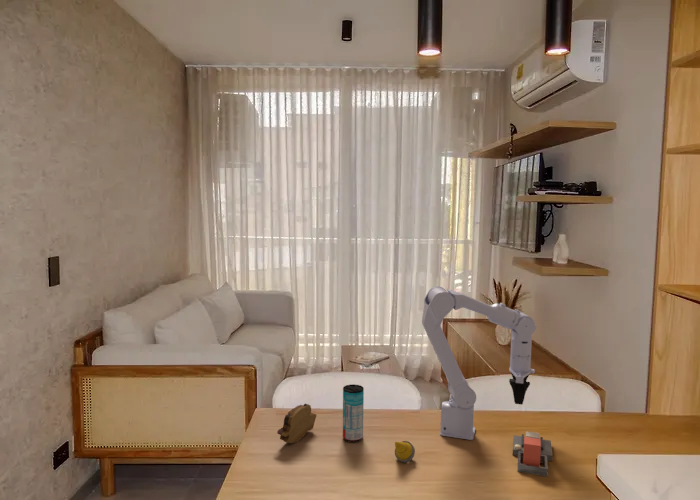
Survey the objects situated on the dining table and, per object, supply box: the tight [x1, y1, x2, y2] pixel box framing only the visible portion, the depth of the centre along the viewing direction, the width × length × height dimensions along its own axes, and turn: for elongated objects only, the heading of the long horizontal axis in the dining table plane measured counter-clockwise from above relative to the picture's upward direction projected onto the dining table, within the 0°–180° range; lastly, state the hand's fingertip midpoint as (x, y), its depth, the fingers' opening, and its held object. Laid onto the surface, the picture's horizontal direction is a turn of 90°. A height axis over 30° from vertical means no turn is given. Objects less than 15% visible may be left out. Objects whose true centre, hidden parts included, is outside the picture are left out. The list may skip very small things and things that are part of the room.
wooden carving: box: [277, 403, 317, 444], centre depth 148 cm, size 16×5×10 cm, turn 155°
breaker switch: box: [525, 430, 541, 439], centre depth 142 cm, size 4×3×3 cm
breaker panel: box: [512, 433, 553, 462], centre depth 143 cm, size 10×9×2 cm
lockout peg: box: [522, 436, 541, 467], centre depth 134 cm, size 4×4×7 cm
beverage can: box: [342, 384, 365, 443], centre depth 148 cm, size 6×6×15 cm
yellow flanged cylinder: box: [394, 440, 416, 463], centre depth 136 cm, size 5×5×10 cm
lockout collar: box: [517, 451, 549, 477], centre depth 134 cm, size 7×7×2 cm
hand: (518, 398), depth 152 cm, fingers open, 7 cm apart
